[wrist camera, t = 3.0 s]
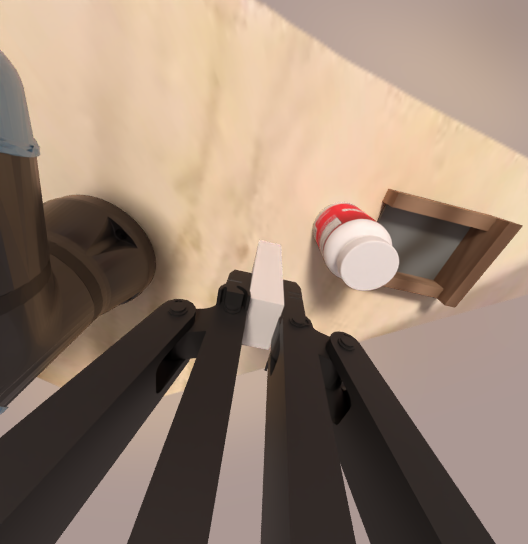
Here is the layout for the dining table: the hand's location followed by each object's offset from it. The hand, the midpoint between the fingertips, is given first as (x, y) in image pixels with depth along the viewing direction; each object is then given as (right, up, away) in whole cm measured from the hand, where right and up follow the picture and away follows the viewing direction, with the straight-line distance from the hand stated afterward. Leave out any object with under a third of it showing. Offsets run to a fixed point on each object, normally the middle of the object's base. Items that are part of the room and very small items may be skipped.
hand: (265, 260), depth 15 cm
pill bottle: (+9, +5, +13) cm, 17 cm away
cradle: (+19, +3, +13) cm, 23 cm away
